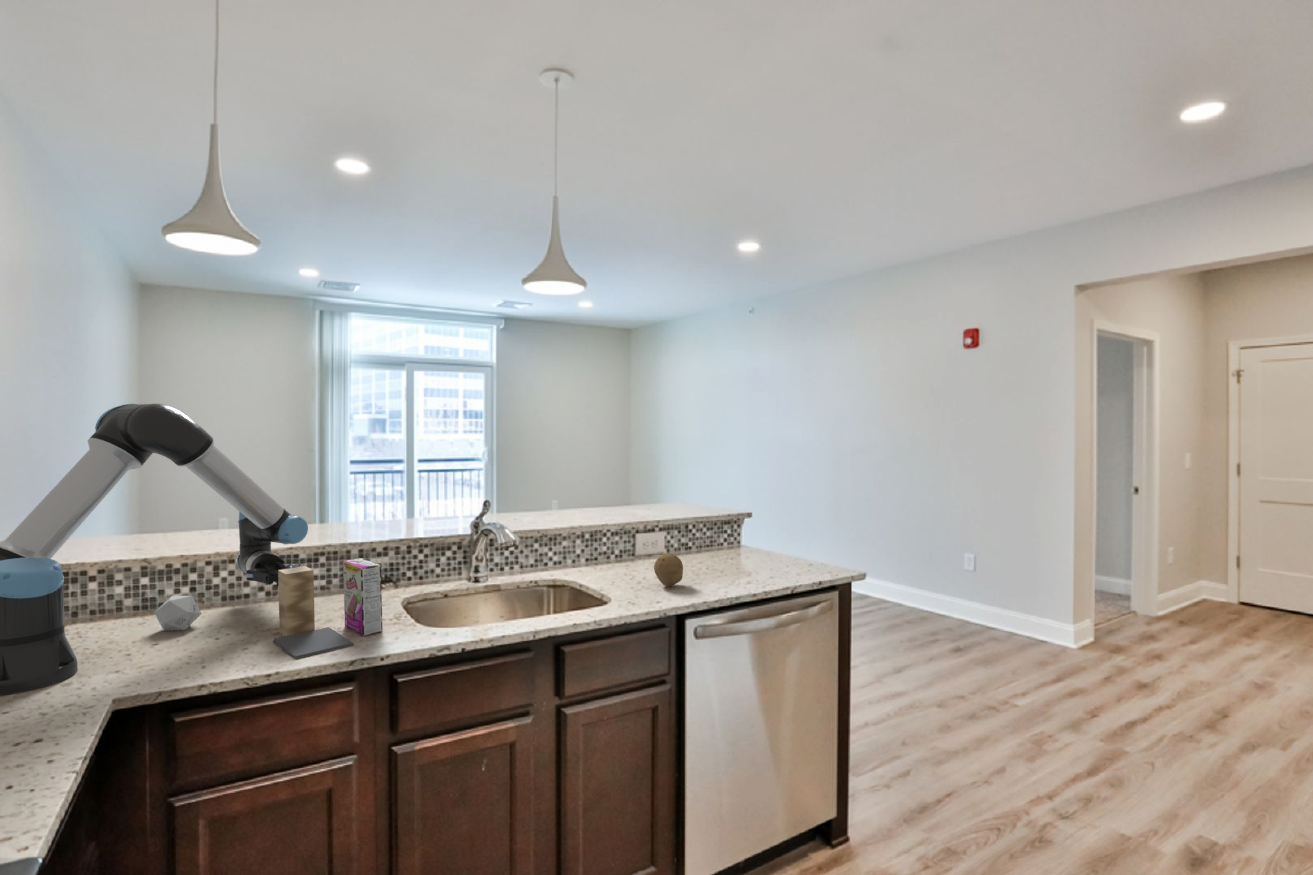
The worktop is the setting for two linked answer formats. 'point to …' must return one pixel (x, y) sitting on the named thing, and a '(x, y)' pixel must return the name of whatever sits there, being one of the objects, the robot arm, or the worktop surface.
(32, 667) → the robot arm
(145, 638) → the worktop surface
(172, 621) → the die
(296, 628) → the wooden block
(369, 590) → the candy bar box
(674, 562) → the brown oval lump
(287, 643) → the mat
